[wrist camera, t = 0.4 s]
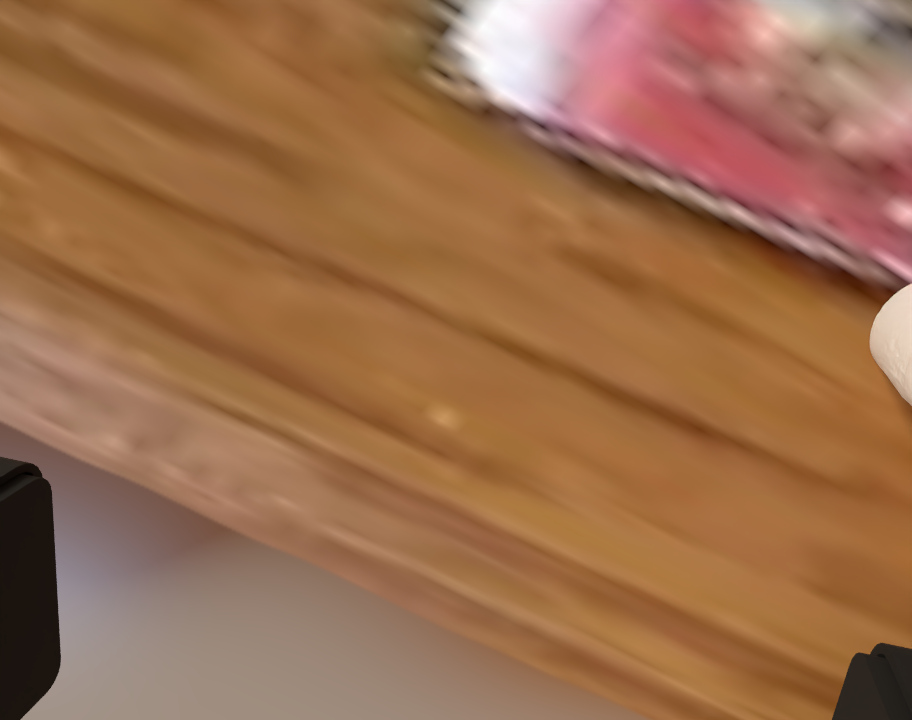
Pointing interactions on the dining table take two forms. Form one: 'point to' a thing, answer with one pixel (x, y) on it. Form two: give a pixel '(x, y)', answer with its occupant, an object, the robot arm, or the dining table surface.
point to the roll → (895, 341)
